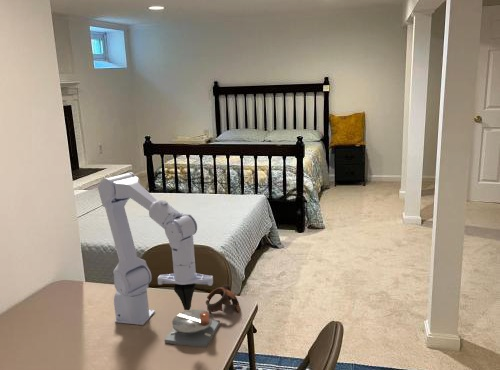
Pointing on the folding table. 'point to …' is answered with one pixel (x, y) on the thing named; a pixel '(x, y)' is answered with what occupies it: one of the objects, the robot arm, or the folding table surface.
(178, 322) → the handwheel
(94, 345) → the folding table surface
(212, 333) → the wheel base
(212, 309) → the brown curved ring
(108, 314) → the folding table surface
